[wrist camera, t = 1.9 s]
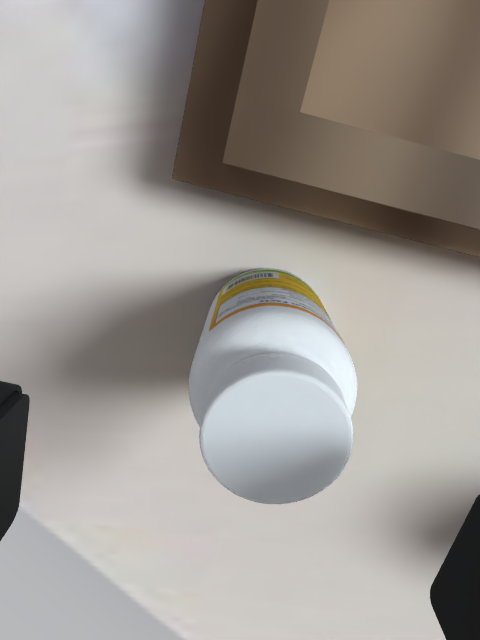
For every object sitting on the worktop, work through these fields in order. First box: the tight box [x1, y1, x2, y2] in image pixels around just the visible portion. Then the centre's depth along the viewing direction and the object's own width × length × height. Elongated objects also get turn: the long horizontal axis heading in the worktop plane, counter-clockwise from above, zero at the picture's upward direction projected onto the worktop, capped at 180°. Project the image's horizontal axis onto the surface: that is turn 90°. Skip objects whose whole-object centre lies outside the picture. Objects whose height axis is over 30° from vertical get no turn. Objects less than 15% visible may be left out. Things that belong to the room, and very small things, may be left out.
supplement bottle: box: [189, 268, 357, 504], centre depth 16 cm, size 5×5×10 cm
